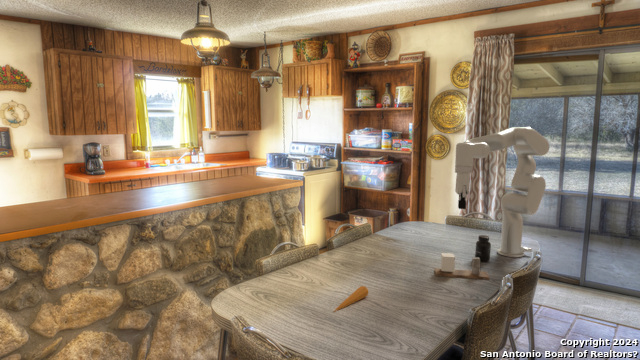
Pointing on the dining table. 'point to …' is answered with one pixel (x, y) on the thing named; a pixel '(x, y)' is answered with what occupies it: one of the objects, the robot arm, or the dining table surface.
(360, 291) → the carrot
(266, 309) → the dining table surface
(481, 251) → the supplement bottle
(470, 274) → the post strip
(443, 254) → the cream rectangular block
